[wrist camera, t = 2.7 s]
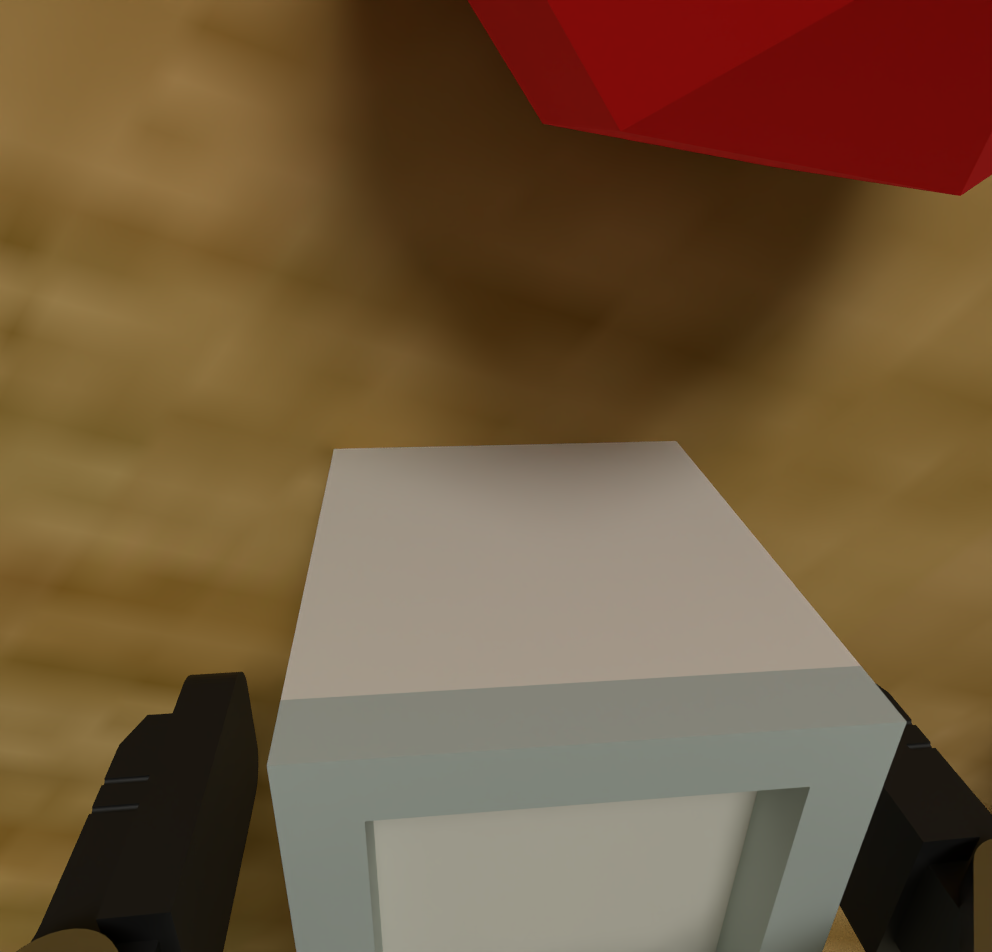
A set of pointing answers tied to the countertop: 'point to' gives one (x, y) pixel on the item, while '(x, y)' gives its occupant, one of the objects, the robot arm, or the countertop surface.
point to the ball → (767, 80)
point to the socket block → (563, 714)
